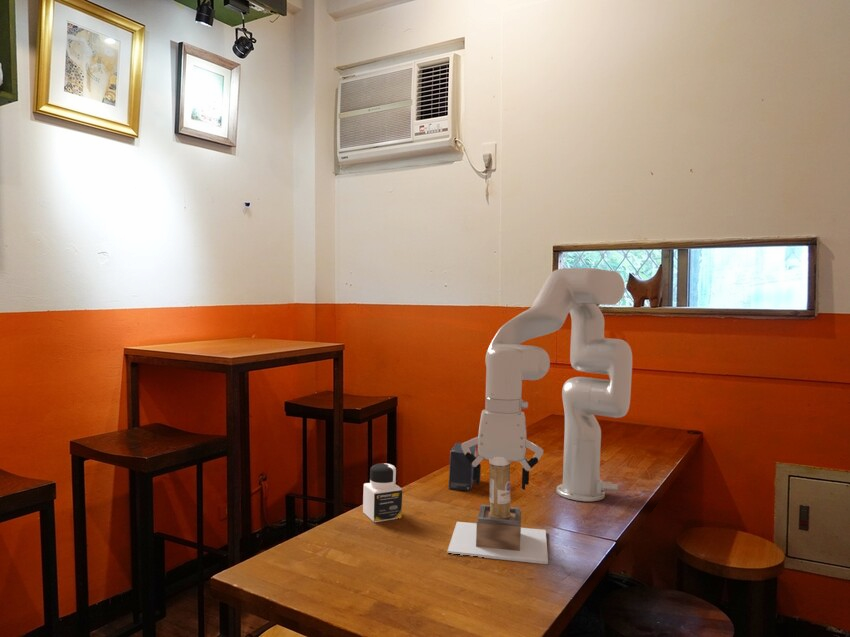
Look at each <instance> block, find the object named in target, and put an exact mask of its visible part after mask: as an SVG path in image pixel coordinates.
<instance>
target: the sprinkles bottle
mask: <svg viewBox="0 0 850 637" xmlns="http://www.w3.org/2000/svg"><path fill="white" fill-rule="evenodd" d="M488 463H489V503H490V504H489V505H490V516H491V517H492V518H496V519H507V518H509V517H510V516H511V514H510V507H511V470H510V469H511V463H512V461H508V460H506V459H505V458H504V457H494V458H493V459H488Z"/></svg>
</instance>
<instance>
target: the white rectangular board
mask: <svg viewBox="0 0 850 637" xmlns="http://www.w3.org/2000/svg"><path fill="white" fill-rule="evenodd" d="M476 529H477V522H466V521H465V522H464V521H456V524H455V526H454V530H453V533H452V536H451V538H450V542H449V544H448V547H447V548H448V549H447V551H446V554H447V553H453V554H460V555H459V556H463V555H470V556H469V557H473V556H478V557H477V558H482V557H484V559H493V560H502V561H514V562H521V563H522V562H523V563H530V564H531V563H532V564H541V565H548V564H549V558H548V557H549V556H548V546H547V544H548V542H547V531H546V530H547V529H542V528H541V529H540V528H528V527H521V536H520V551H515V550H505V549H495V548H485V547H476ZM453 554H452V555H453Z"/></svg>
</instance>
